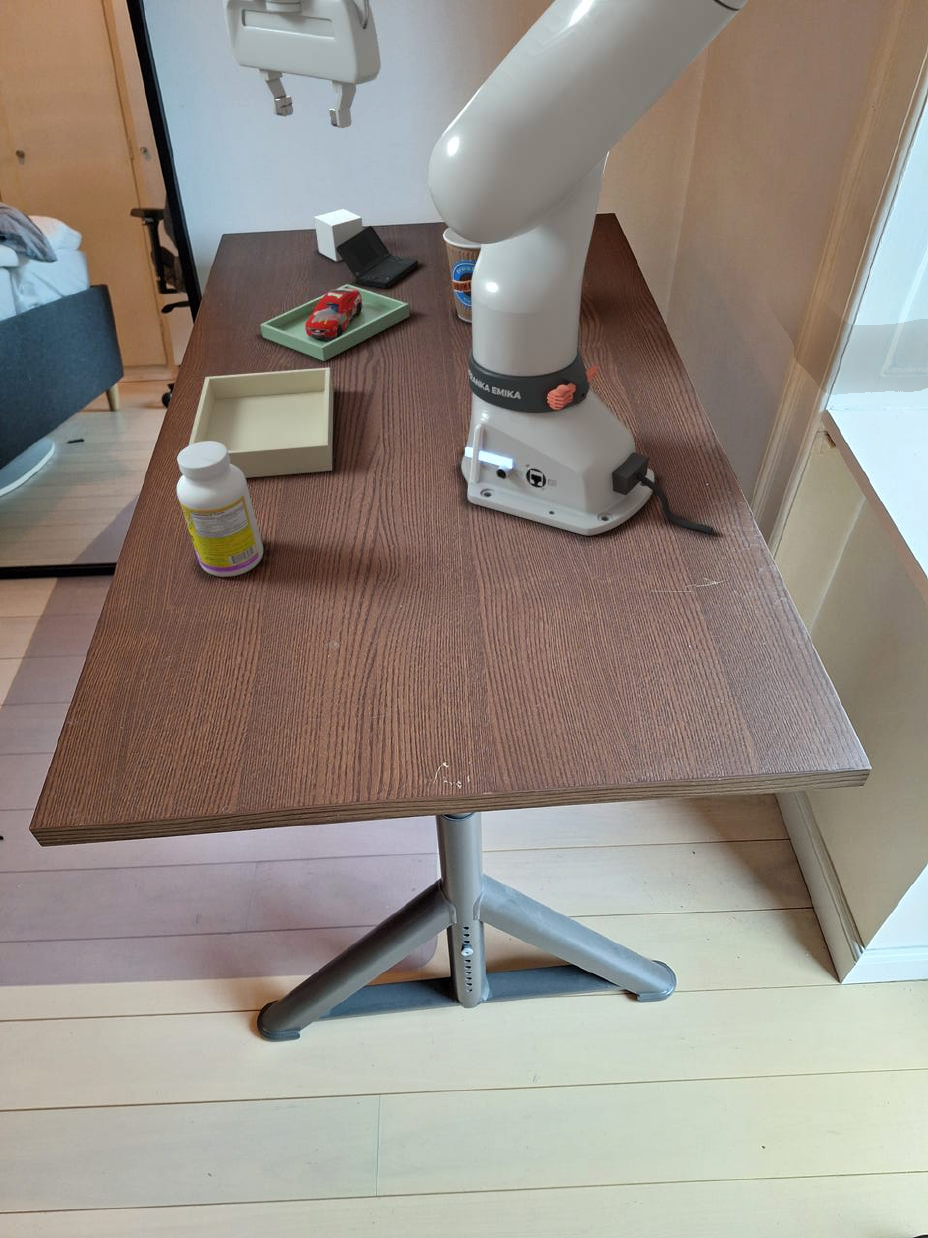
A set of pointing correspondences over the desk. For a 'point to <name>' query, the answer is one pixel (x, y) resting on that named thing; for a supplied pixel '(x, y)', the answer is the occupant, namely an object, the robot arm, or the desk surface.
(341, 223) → the white cube
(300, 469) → the cream shallow box
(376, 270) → the handheld gaming console
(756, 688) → the desk surface
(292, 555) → the desk surface
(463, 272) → the coffee cup
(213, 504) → the supplement bottle
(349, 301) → the race car
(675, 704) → the desk surface
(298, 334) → the tray
